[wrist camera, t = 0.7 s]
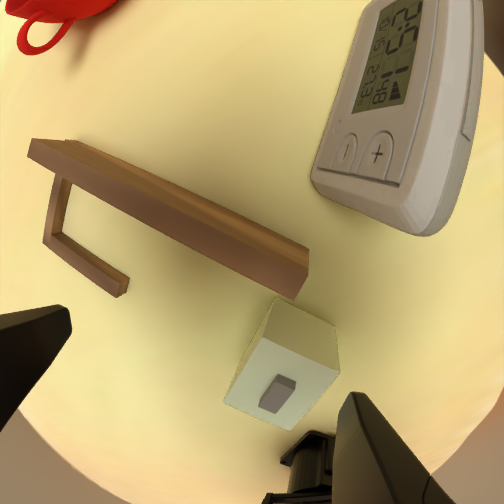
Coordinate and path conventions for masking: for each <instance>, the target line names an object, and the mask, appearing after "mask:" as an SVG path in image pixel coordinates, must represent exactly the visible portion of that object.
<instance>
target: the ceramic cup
mask: <svg viewBox="0 0 504 504" xmlns="http://www.w3.org/2000/svg"><path fill="white" fill-rule="evenodd" d="M117 1H118V0H7V2H6V6H5V11H6V13H7V14H9V15H12V16H16V17H20V18H24V19H28V20H27V21H26V22H25V23H24V25H23V26H22V27H21V29H20V31H19V33H18V36H17V46H18V49H19V50H20V51H21V52H22V53H23V54H25V55H38V54H40V53H43V52H45V51H47V50H49V49H50V48H52V47H53V46H54V45H56V44H57V43H58V42H59V41H60V39H61V38H62V37H63V36H64V35H65V34H66V32H67V31H68V30H69V28H70V27H71V25H72V24H73V23H74V21H77V20H80V19H84V18H87V17H90V16H94V15H98V14H100V13H102V12H104V11H105V10H107V9H108V8H110V7H111V6H113V5H114V4H115V3H116V2H117ZM36 21H38V22H44V23H63V25H62V26H61V28H60V29H59V31H58V32H57V33H56V35H55V36H54V37H53V38H52V39H51V40H50V41H49V42H48V43H47V44H45V45H43V46H41V47H33V46H31V45H30V44H29V43H28V41H27V33H28V30H29V28H30V26H31V25H32V24H33V23H34V22H36Z"/></svg>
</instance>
